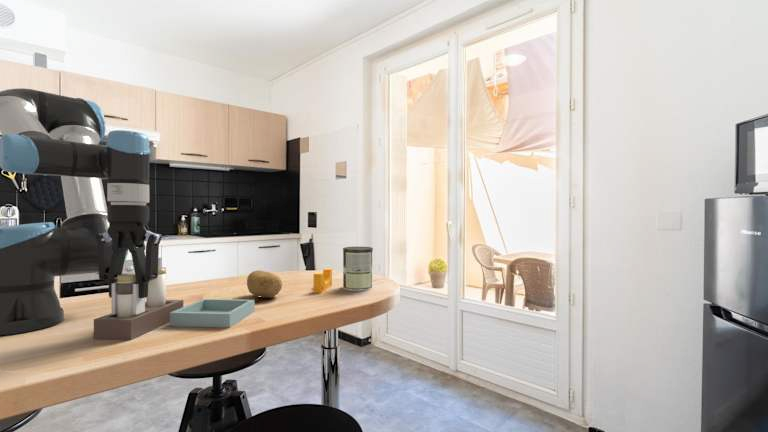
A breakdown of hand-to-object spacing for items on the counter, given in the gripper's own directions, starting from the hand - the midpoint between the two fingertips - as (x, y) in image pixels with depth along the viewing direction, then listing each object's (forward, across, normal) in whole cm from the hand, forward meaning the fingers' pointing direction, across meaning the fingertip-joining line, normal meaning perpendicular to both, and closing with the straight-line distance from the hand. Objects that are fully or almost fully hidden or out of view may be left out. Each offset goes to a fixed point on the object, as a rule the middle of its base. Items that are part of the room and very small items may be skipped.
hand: (128, 312), depth 82 cm
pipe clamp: (+5, +31, +49) cm, 58 cm away
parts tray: (+4, +13, +12) cm, 18 cm away
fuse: (+4, 0, +9) cm, 10 cm away
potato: (+5, +16, +35) cm, 39 cm away
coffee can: (+4, +43, +52) cm, 68 cm away
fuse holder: (+4, 0, +4) cm, 6 cm away
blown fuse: (+4, 0, 0) cm, 4 cm away
